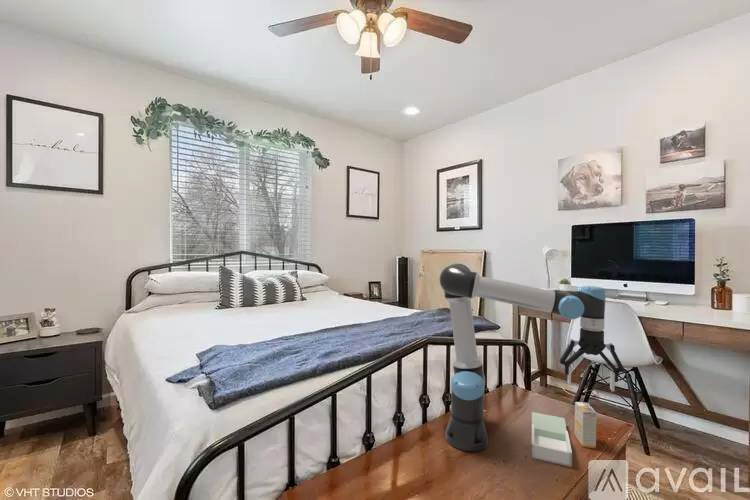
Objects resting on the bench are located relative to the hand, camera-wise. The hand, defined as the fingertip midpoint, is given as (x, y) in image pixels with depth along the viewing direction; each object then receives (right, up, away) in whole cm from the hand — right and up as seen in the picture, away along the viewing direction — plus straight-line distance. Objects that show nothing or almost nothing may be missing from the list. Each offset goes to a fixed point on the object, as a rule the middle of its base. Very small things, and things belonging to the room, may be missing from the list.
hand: (590, 386), depth 128 cm
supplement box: (-1, -21, +1) cm, 21 cm away
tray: (-17, -21, -5) cm, 27 cm away
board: (-11, -21, +9) cm, 25 cm away
